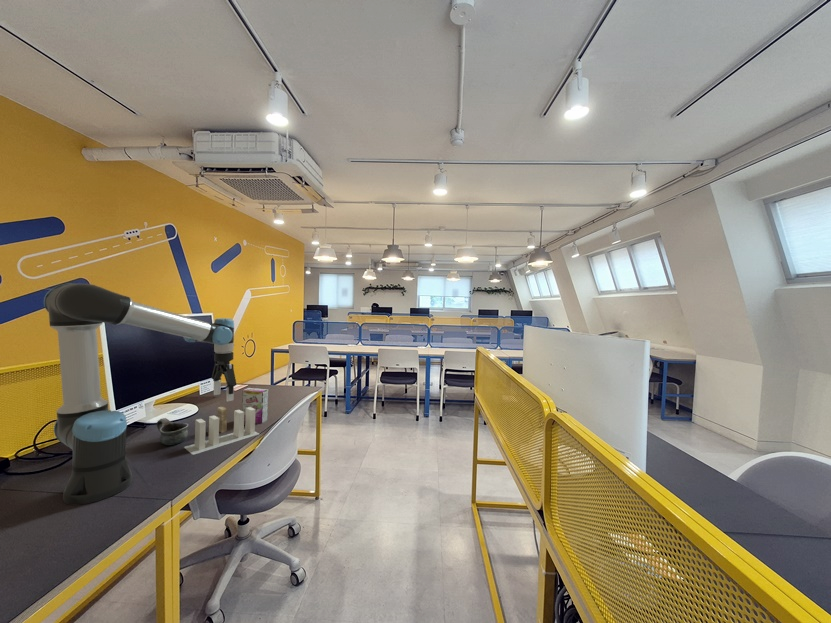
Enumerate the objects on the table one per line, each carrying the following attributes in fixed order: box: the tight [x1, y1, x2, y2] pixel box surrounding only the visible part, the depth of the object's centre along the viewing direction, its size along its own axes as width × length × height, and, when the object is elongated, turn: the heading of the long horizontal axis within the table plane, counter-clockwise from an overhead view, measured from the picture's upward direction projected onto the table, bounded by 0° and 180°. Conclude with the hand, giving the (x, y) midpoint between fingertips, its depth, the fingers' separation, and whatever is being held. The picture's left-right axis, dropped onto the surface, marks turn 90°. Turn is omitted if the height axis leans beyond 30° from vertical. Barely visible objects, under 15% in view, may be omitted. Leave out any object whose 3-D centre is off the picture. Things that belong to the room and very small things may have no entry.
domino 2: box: [207, 414, 220, 446], centre depth 130 cm, size 2×5×11 cm, turn 54°
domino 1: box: [194, 418, 207, 450], centre depth 126 cm, size 2×5×11 cm, turn 54°
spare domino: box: [216, 406, 228, 434], centre depth 142 cm, size 2×5×11 cm, turn 54°
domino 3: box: [233, 409, 245, 438], centre depth 138 cm, size 2×5×11 cm, turn 54°
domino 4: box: [244, 407, 256, 434], centre depth 142 cm, size 2×5×11 cm, turn 54°
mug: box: [156, 417, 189, 446], centre depth 129 cm, size 10×12×10 cm
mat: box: [183, 428, 260, 456], centre depth 133 cm, size 26×10×1 cm, turn 144°
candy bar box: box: [241, 387, 269, 424], centre depth 155 cm, size 11×5×16 cm, turn 84°
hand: (223, 397), depth 142 cm, fingers open, 13 cm apart
